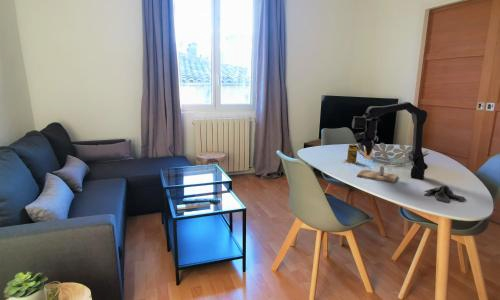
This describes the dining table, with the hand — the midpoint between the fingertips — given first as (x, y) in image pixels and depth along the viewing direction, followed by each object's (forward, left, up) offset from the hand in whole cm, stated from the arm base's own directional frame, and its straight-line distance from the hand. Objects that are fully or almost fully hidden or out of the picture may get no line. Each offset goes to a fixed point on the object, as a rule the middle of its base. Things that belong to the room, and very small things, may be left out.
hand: (368, 155), depth 178 cm
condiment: (+16, -25, -13) cm, 32 cm away
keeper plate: (-6, -1, -12) cm, 14 cm away
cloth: (-38, +12, -13) cm, 42 cm away
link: (-5, 0, -2) cm, 6 cm away
